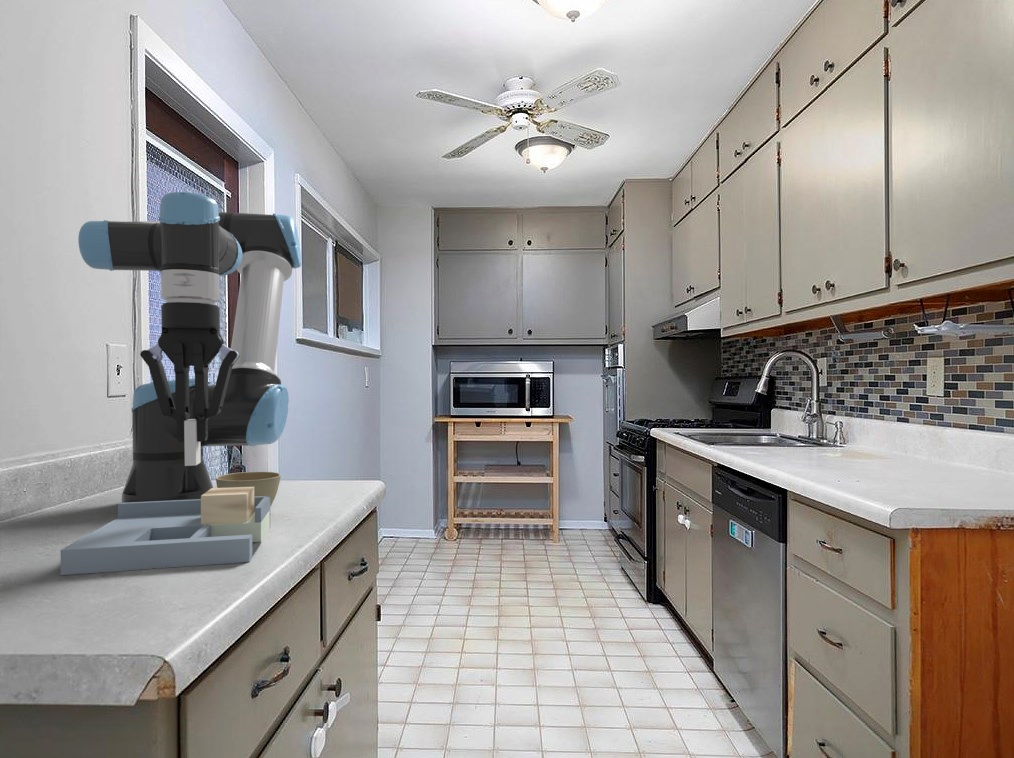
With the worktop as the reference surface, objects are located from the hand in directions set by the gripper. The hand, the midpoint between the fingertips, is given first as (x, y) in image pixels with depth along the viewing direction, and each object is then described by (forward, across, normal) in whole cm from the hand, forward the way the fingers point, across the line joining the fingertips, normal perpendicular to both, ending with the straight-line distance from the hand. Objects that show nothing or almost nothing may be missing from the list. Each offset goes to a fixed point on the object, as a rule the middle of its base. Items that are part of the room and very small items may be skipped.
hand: (192, 463), depth 87 cm
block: (+8, +5, -2) cm, 10 cm away
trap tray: (+11, 0, -5) cm, 12 cm away
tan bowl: (+12, +6, +12) cm, 17 cm away
